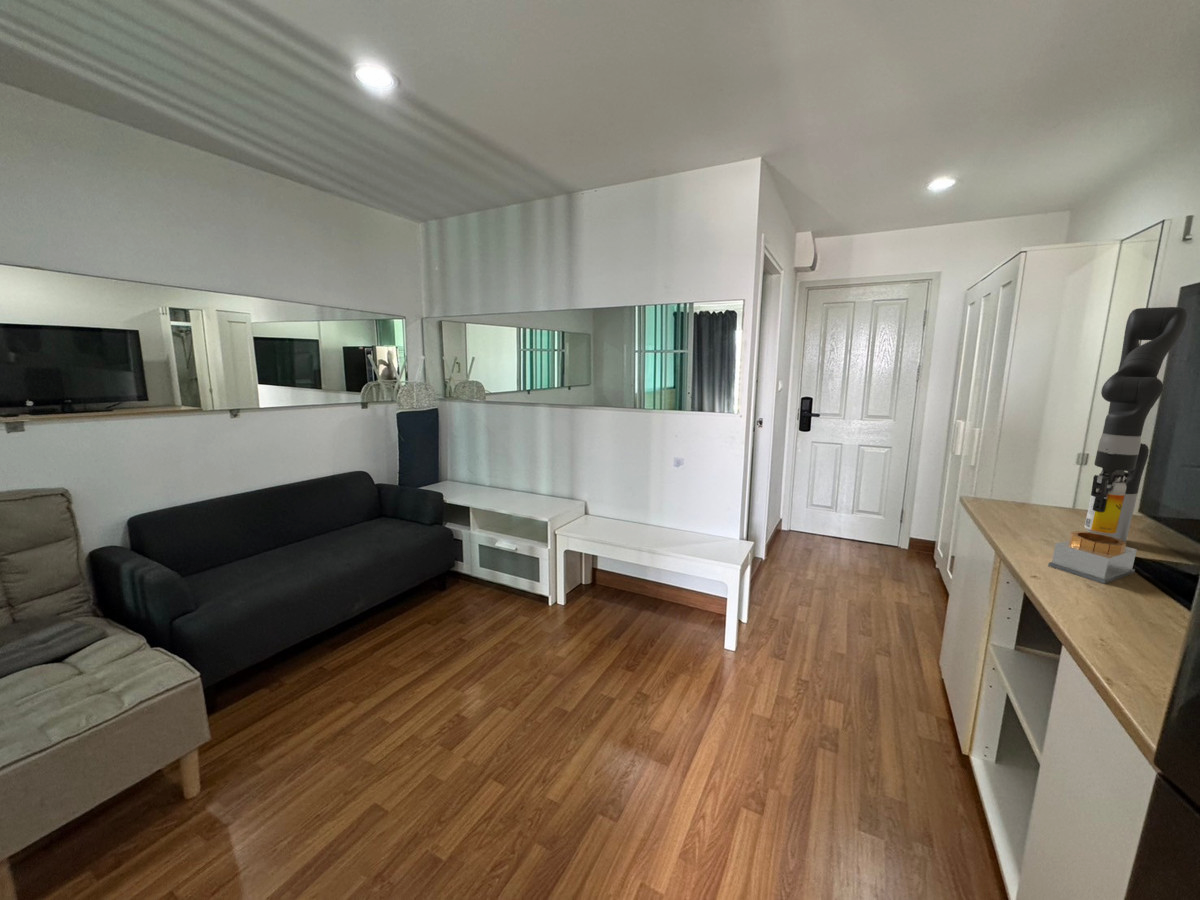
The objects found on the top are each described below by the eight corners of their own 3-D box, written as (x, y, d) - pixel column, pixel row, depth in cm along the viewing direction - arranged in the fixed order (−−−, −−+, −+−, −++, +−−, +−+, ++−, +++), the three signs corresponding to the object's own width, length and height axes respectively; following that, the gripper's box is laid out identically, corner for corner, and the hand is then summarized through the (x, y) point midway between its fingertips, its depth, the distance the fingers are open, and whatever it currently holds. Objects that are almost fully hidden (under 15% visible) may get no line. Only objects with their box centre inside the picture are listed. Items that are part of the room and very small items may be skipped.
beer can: (1121, 537, 126) (1134, 484, 123) (1095, 535, 127) (1107, 482, 125) (1103, 529, 132) (1114, 478, 129) (1077, 527, 133) (1088, 477, 130)
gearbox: (1084, 554, 142) (1090, 525, 140) (1139, 570, 131) (1147, 539, 129) (1048, 566, 134) (1054, 535, 132) (1104, 583, 123) (1112, 550, 121)
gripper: (1111, 446, 131) (1098, 503, 135) (1085, 450, 126) (1073, 509, 129) (1149, 451, 125) (1135, 511, 128) (1124, 455, 119) (1110, 517, 122)
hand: (1104, 509), depth 128 cm, fingers closed on beer can, 6 cm apart
